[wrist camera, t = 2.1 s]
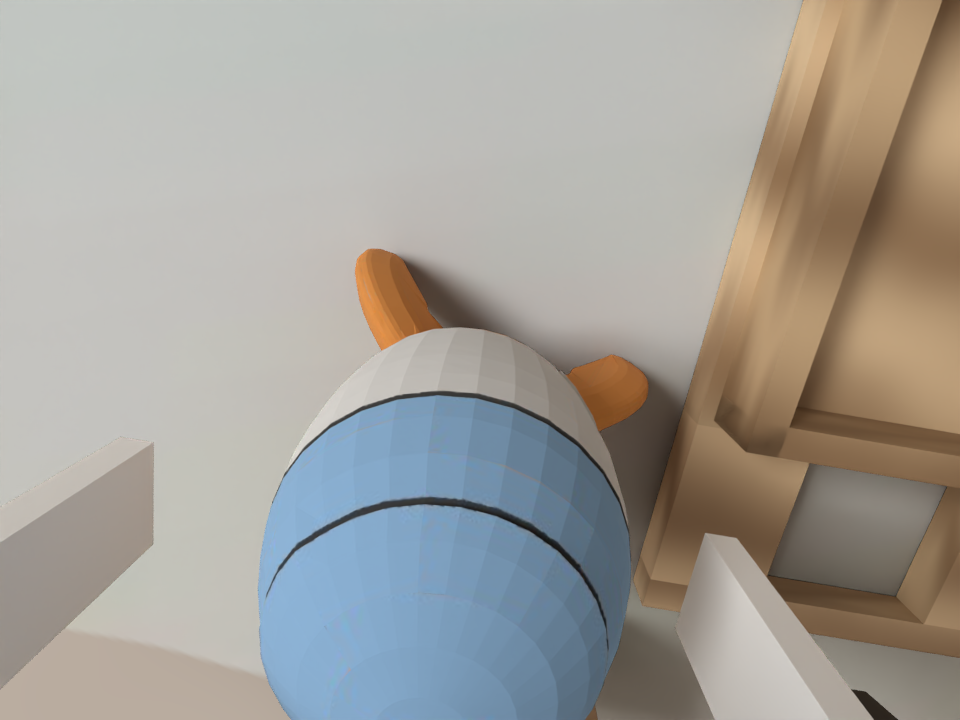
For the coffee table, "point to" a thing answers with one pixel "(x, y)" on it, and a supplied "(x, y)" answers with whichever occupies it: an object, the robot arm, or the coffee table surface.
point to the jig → (835, 321)
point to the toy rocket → (448, 528)
